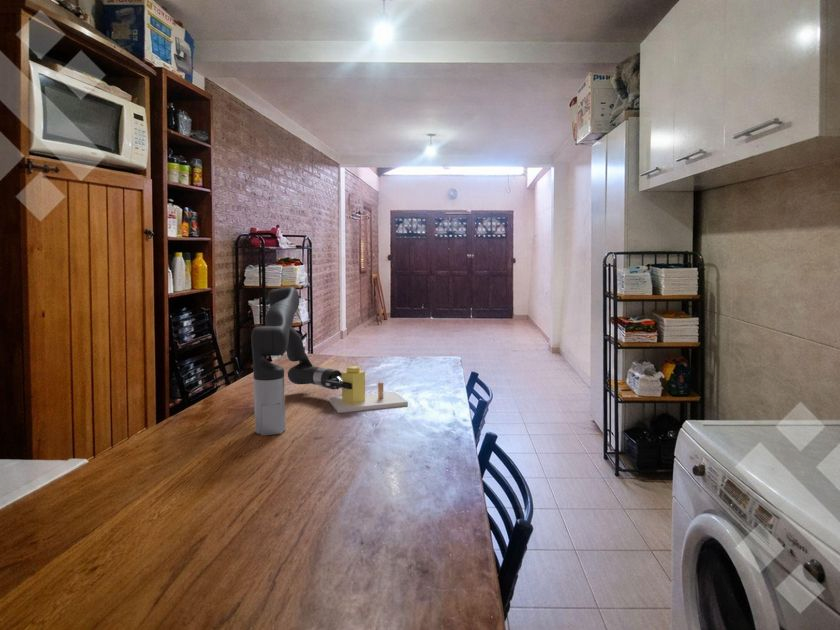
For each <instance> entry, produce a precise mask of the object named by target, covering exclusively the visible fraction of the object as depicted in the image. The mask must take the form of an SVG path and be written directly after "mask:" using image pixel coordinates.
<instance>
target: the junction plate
mask: <svg viewBox="0 0 840 630" xmlns="http://www.w3.org/2000/svg"><path fill="white" fill-rule="evenodd" d="M328 400H329V403H330V405H332V407H333V408H334V409H335V411H336V412H337V414H340V413H350V412H359V411H368V410H377V409H379V410H380V409H388V408H397V407H398V408H399V407H407V406H409V405H408V404H409V403H408V400H406V399H405V398H403V396H401V395H400V394H398V393H397V392H396V391H388V392H387V391H384V382H382V381H379V382H377V392H375V393H365V401H362V402H359V403H356V404H351V403H347V402H343V401H342V395H341V396H331V397H329V399H328Z"/></svg>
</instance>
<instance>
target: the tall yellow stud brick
mask: <svg viewBox="0 0 840 630" xmlns="http://www.w3.org/2000/svg"><path fill="white" fill-rule="evenodd" d="M341 374H342V381H344V382H348V383H352V389H346V388H343V389H342V388H341V396H342V401H343V402H347V403H351V404H356V403H359V402H362V401H365V394H366V371H365V370H364V371H363V370H361V367H360V366H358V365H357V366H356V365H355V366H354V365H353V366H352V365H351V366H347V367H346V370H345V371H342V372H341Z"/></svg>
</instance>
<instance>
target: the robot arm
mask: <svg viewBox="0 0 840 630" xmlns="http://www.w3.org/2000/svg"><path fill="white" fill-rule="evenodd" d="M267 297H268V303H269V308H268V310H267V312H266V315H265V318H264V322H265V325H263V326H260V325H259V326H255V327H253V328H252V331H251V334H250V335H251V336H250V337H251V339H250V341H251V344H250V345H251V353H252V355H251V356H252V369H253V370H252V371H253V397H254V398H253V401H254V431H255V432H254V433H256V434H257V435H260V436H262V437H263V436H270V435H271V436H272V435H281V434H283V432H285V431H286V429H287V428H286V401H285V400H286V397H285V370H284V367H283V366H281V365H278V364H276V363H272V362H270V361H268V360H267V359H266V357H277V356H279V357H280V356H282V355H284V354H286V356H287V358H288V360H289V361H290V362H293V363H294V362H298V363H297V364H295V365H294V366H291V368H289V370H287V378H288V380H289V381H290V382H291V383H293V384H295V385H310V384H311V385H315V386H318V387H321V388H326V389H329V390H334V391H335V390H339V389H341V390H342V389H343V388H346V389H352V383H348V382H344V381H342V372H341V371H340V370H339V369H333V368H328V367H320V366H316V365H315V366H313V364H312V362H311V361H310V359H309V357H308V355H307V354H306V350H305V347H304V343H303V339H302V337H301V335H300V334H299V332H298V331H296V329H294V327H292V325H293V322H294V318H295V314H296V312H297V311H298V309H299V305H300V295H299V292H298V290H297V289H296V288H295V287H292V286H286V287H280V288H274V289H271V290H269V292H268V296H267Z"/></svg>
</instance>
